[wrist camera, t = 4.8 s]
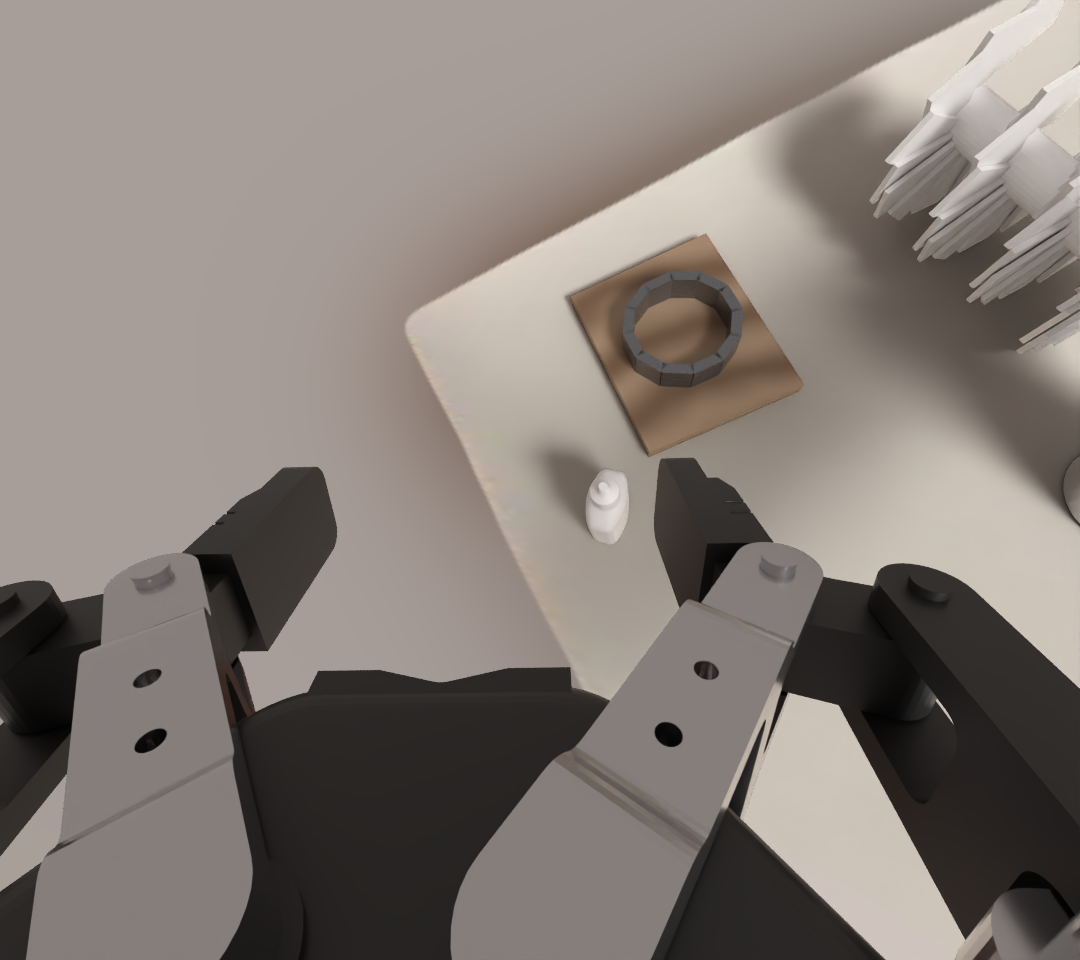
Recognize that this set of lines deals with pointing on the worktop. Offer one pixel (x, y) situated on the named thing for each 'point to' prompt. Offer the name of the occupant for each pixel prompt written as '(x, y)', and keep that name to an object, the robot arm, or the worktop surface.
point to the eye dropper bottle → (607, 506)
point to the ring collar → (683, 287)
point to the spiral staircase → (995, 173)
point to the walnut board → (683, 350)
